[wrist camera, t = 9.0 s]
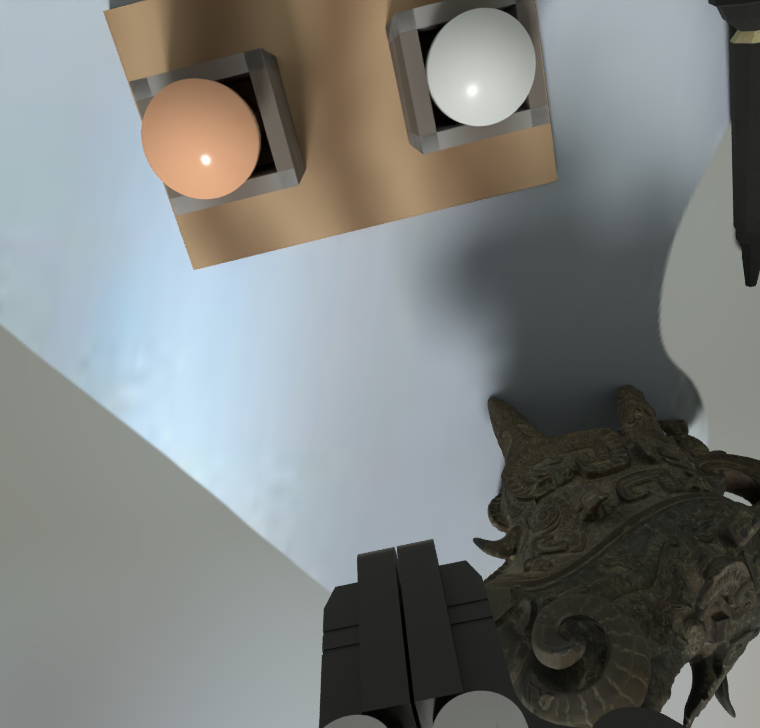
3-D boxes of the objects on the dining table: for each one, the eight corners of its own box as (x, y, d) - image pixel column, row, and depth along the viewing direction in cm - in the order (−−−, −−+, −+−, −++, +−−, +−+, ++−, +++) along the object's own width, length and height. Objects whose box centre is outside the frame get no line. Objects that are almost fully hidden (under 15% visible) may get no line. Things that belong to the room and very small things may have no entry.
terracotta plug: (261, 71, 33) (237, 65, 26) (286, 165, 35) (272, 184, 28) (172, 94, 33) (123, 94, 26) (202, 186, 35) (164, 210, 28)
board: (517, -94, 34) (565, -145, 27) (552, 178, 40) (601, 198, 32) (109, 13, 35) (47, -8, 28) (197, 266, 41) (164, 304, 33)
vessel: (354, 419, 45) (417, 715, 22) (708, 347, 46) (1115, 552, 23) (381, 555, 48) (459, 930, 26) (708, 484, 50) (1059, 778, 27)
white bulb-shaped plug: (487, 16, 35) (527, -5, 27) (501, 108, 37) (542, 111, 29) (401, 38, 35) (418, 23, 28) (419, 128, 37) (439, 137, 29)
